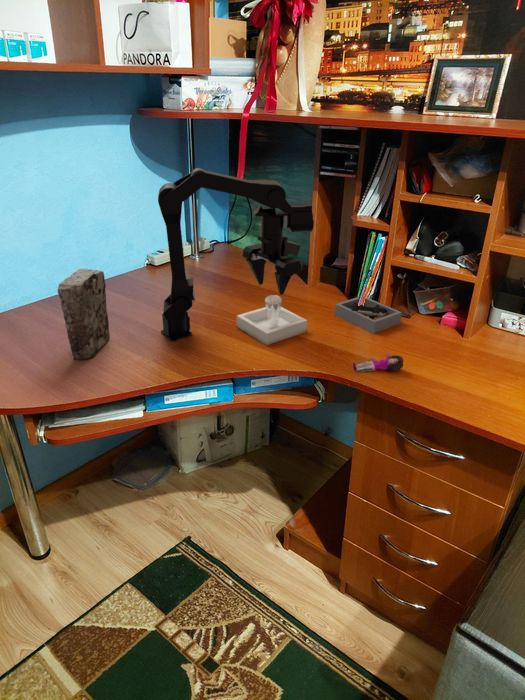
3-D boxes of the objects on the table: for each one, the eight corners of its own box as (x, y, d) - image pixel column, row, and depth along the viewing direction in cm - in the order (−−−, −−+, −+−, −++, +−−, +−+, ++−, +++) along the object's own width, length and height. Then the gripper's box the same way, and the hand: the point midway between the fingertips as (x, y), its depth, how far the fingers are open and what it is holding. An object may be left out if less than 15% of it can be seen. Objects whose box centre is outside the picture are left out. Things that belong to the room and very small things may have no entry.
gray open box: (373, 333, 148) (374, 322, 146) (334, 315, 158) (335, 304, 157) (400, 323, 154) (402, 312, 152) (361, 306, 164) (362, 295, 163)
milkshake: (261, 330, 147) (261, 296, 142) (267, 322, 152) (267, 289, 147) (277, 332, 146) (278, 298, 141) (282, 324, 150) (283, 291, 146)
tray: (266, 345, 141) (266, 333, 139) (236, 326, 151) (236, 315, 149) (306, 331, 148) (307, 320, 147) (275, 314, 158) (275, 304, 156)
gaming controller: (348, 320, 159) (345, 313, 153) (351, 305, 160) (348, 298, 153) (385, 324, 156) (383, 317, 149) (387, 309, 156) (386, 302, 150)
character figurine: (356, 379, 128) (406, 373, 128) (355, 361, 126) (406, 355, 126) (351, 368, 133) (399, 362, 133) (351, 350, 131) (399, 344, 131)
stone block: (88, 336, 144) (77, 266, 135) (113, 338, 144) (104, 267, 134) (68, 360, 132) (54, 285, 123) (96, 362, 132) (84, 286, 123)
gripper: (319, 235, 134) (316, 293, 142) (274, 220, 148) (273, 273, 155) (285, 243, 128) (283, 302, 136) (241, 226, 142) (242, 281, 149)
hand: (271, 289), depth 144 cm, fingers open, 9 cm apart
